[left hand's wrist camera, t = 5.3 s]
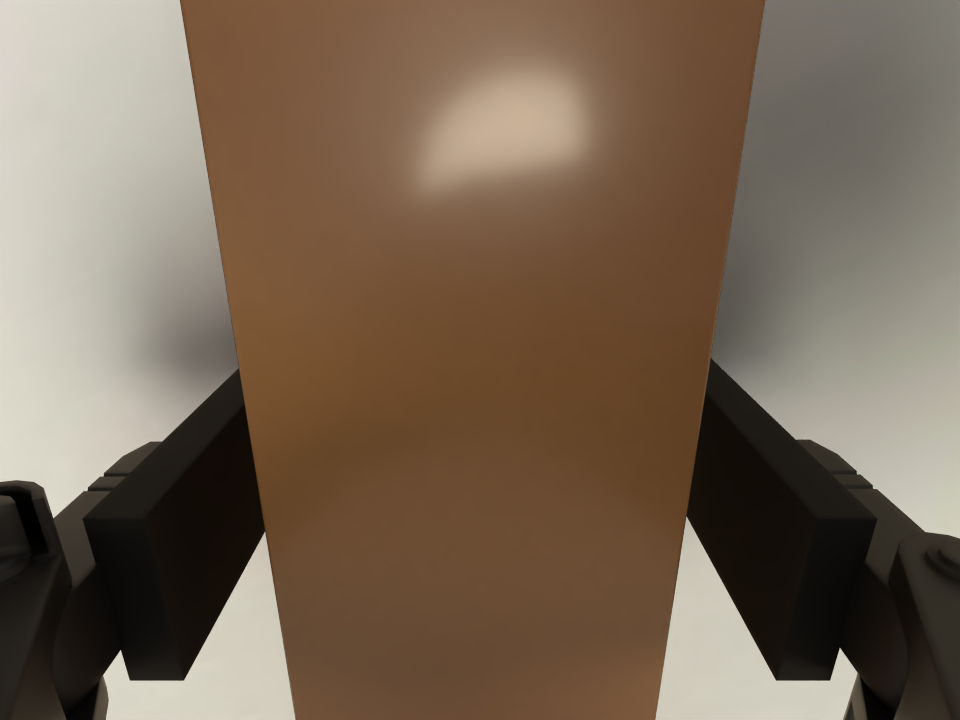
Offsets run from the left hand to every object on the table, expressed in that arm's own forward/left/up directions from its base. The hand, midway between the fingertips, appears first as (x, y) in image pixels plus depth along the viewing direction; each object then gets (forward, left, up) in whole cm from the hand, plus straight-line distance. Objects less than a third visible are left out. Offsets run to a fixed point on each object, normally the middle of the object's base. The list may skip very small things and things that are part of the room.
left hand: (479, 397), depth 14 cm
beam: (+18, +13, -1) cm, 23 cm away
